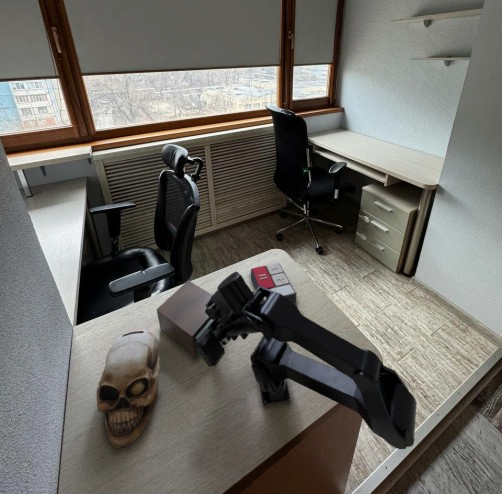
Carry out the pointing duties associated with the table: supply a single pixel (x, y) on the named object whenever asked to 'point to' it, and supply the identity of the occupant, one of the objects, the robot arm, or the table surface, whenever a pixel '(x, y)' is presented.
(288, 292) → the calculator
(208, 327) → the drawer
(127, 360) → the coin bank
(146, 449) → the table surface
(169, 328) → the cabinet
